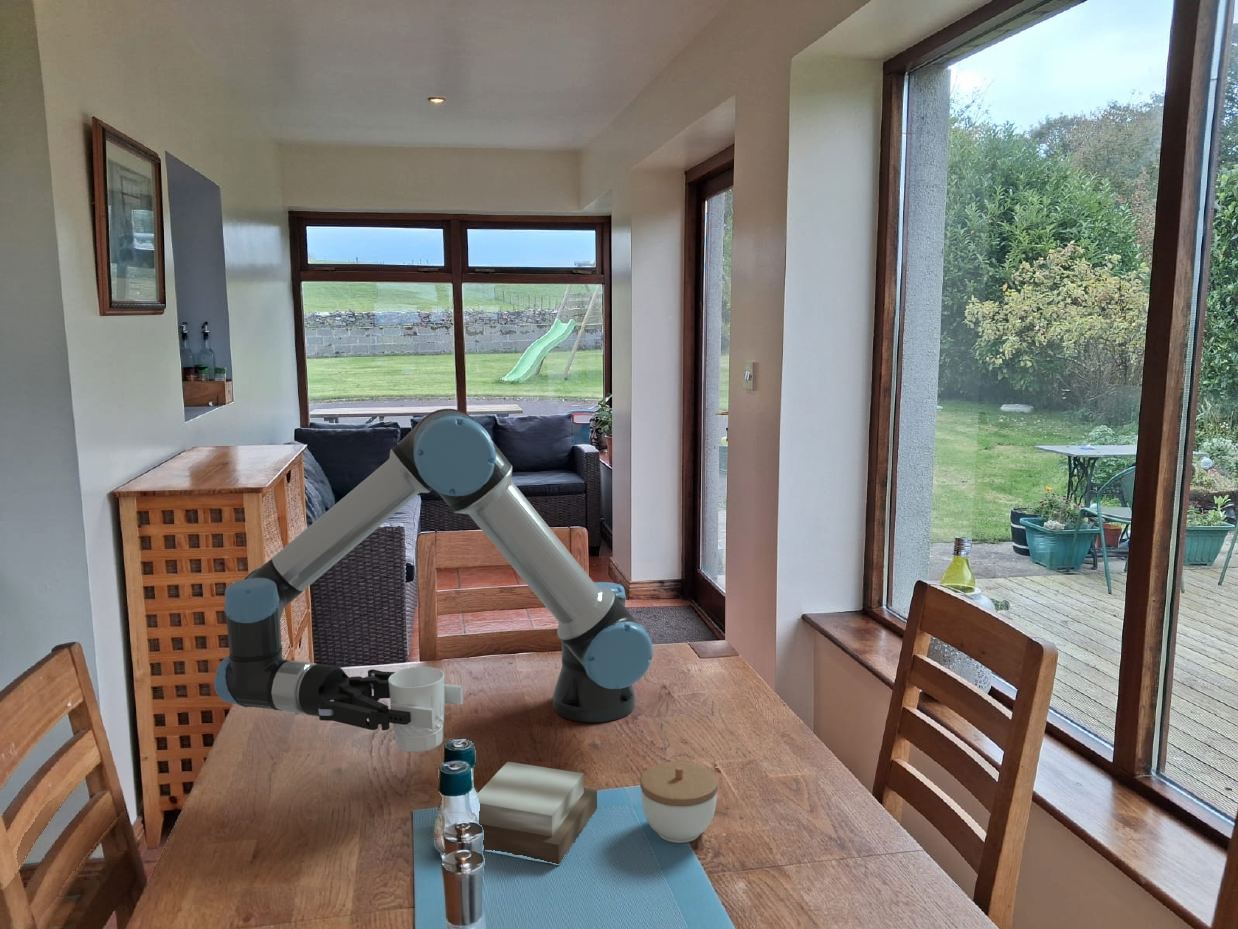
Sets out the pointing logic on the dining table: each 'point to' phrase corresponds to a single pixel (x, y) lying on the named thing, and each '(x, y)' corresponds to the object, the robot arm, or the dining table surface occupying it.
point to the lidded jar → (679, 799)
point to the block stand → (534, 811)
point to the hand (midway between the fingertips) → (447, 706)
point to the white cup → (418, 691)
